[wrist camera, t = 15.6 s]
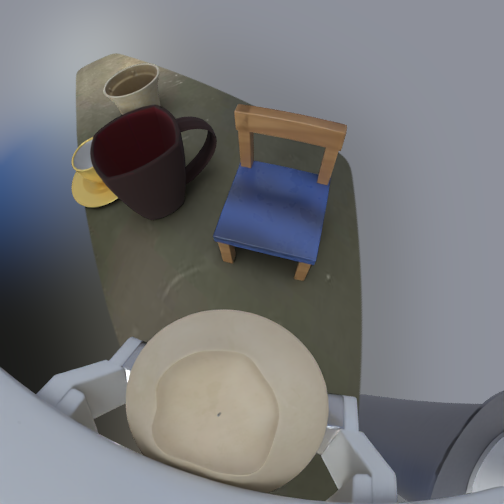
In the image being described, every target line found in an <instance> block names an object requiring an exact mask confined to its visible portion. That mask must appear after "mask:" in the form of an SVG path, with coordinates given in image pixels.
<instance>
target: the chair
mask: <svg viewBox="0 0 504 504" xmlns="http://www.w3.org/2000/svg"><path fill="white" fill-rule="evenodd" d="M235 124H236V130H238V135H239V148H240V161H241V163H240V165H239V168H238V170H237V173H236V175H235V178H234V181H233V183H232V186H231V189H230V191H229V194H228V197H227V199H226V202H225V205H224V207H223V210H222V213H221V216H220V218H219V221H218V224H217V227H216V229H215V232H214V235H213V237H214V241H215V242H218V244H219V248H220V251H221V255H222V258H223V261H225V262H229V263H233V262H234V259H235V256H236V254H235V248H234V246H236V247H240V248H244V249H248V250H253V251H257V252H261V253H265V254H269V255H273V256H277V257H281V258H286V259H290V260H294V261H298V265H297V268H296V271H295V275H294V279H297V280H302V281H304V279H305V277H306V275H307V273H308V271H309V269H310V266H311V265H314V264H315V262H316V258H317V253H318V248H319V243H320V237H321V232H322V227H323V221H324V215H325V210H326V204H327V198H328V192H329V186H330V179H331V178H330V177H331V174H332V170H333V167H334V164H335V161H336V158H337V155H338V151H341V149H342V145H343V142H344V139H345V136H346V131H347V125H344V124H340V123H336V122H332V121H327V120H323V119H319V118H314V117H310V116H305V115H301V114H295V113H290V112H285V111H279V110H274V109H268V108H262V107H256V106H249V105H242V104H238V106H237V108H236V110H235ZM253 132H254V133H259V134H265V135H270V136H276V137H281V138H286V139H291V140H295V141H300V142H305V143H309V144H313V145H318V146H322V147H325V151H324V155H323V159H322V163H321V167H320V170H319V174H313V173H309V172H305V171H301V170H296V169H292V168H287V167H282V166H278V165H273V164H268V163H263V162H258V161H254V142H253Z"/></svg>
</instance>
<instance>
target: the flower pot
mask: <svg viewBox="0 0 504 504" xmlns="http://www.w3.org/2000/svg"><path fill="white" fill-rule="evenodd" d="M158 76H159V68H158V67H157V66H156V65H154V64H151V63H143V64H137V65H133V66H130V67H128V68H125V69H123V70H121V71H119V72H118V73H116V74H115V75H113V76H112V77H111V78H110V79H109V80H108V81H107V82H106V84H105V86H104V89H103V92H104V94H105V96H106V97H108V98H110V99H111V101H113V102H114V103H115V104H116V106H117V107H118V109H119V110H120V112H121V113H122V115H123V114H125V113H127V112H130V111H132V110H135V109H138V108H141V107H145V106H149V105H159V106H161V105H160V99H159V91H158Z"/></svg>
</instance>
